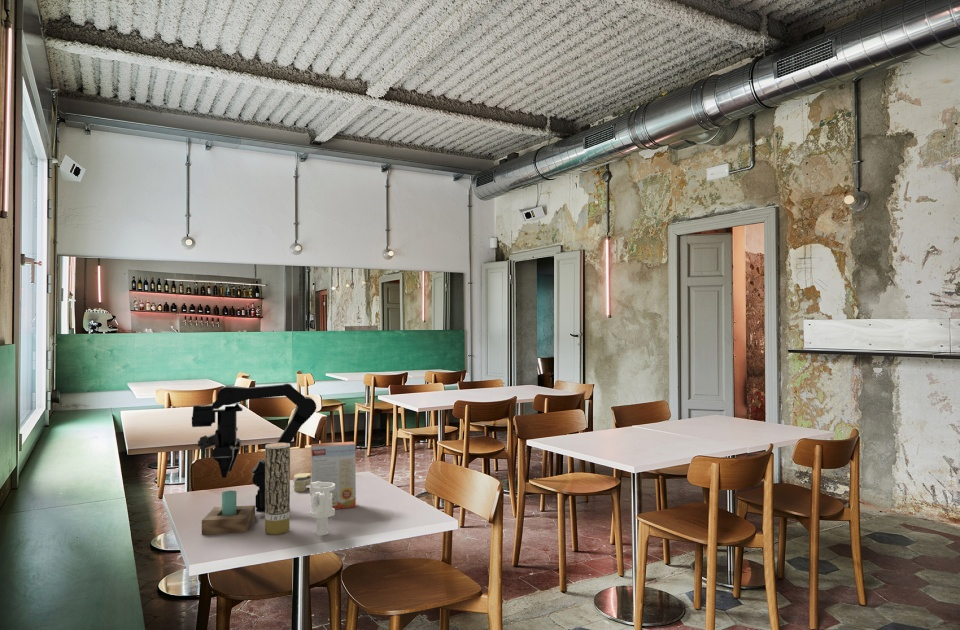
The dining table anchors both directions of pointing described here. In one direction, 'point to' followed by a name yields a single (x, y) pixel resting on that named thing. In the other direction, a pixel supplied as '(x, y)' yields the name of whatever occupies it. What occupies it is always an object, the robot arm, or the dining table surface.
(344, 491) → the cracker box
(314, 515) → the white plastic upright piece
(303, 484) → the stacked layers on plate
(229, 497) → the peg
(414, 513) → the dining table surface
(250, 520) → the socket block
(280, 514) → the paper tube
